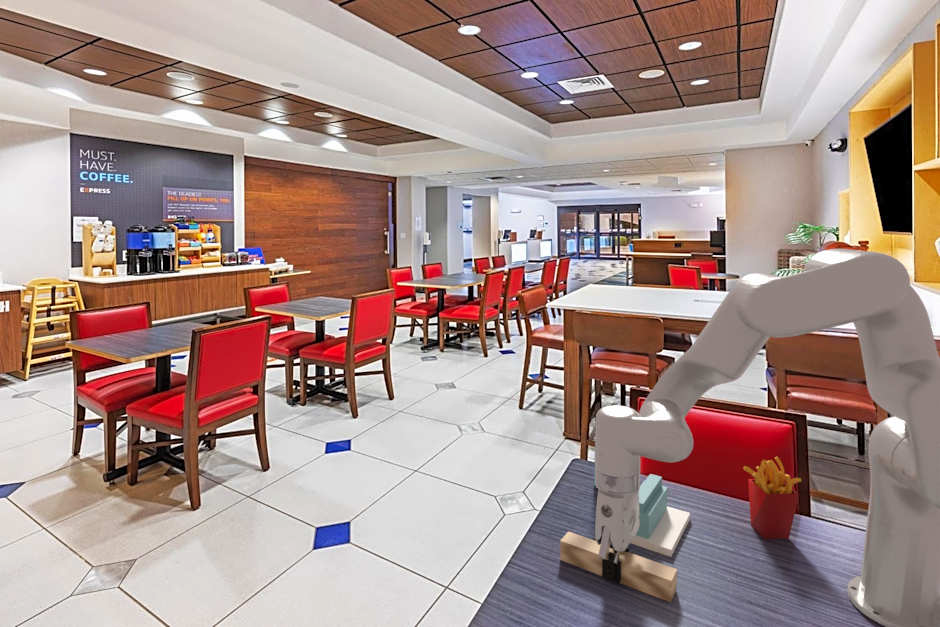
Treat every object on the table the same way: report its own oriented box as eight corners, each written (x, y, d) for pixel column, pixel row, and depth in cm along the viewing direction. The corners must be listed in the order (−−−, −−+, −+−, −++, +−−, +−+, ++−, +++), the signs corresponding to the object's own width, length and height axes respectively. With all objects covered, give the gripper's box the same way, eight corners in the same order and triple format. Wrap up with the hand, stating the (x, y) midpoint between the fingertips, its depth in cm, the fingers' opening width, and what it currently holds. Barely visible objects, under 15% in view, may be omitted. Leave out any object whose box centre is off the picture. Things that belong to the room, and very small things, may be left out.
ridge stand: (689, 519, 107) (691, 482, 106) (671, 557, 95) (672, 515, 94) (624, 500, 115) (625, 465, 114) (599, 532, 103) (600, 494, 102)
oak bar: (676, 590, 86) (677, 569, 86) (670, 602, 83) (671, 580, 83) (568, 550, 98) (568, 531, 97) (560, 560, 95) (560, 540, 94)
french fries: (796, 541, 99) (803, 469, 96) (754, 542, 99) (759, 470, 96) (770, 516, 107) (775, 449, 105) (731, 517, 107) (735, 450, 105)
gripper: (621, 505, 79) (620, 610, 82) (653, 464, 92) (650, 555, 95) (577, 492, 83) (576, 591, 86) (613, 454, 96) (611, 542, 99)
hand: (615, 571), depth 91 cm, fingers closed on oak bar, 3 cm apart
